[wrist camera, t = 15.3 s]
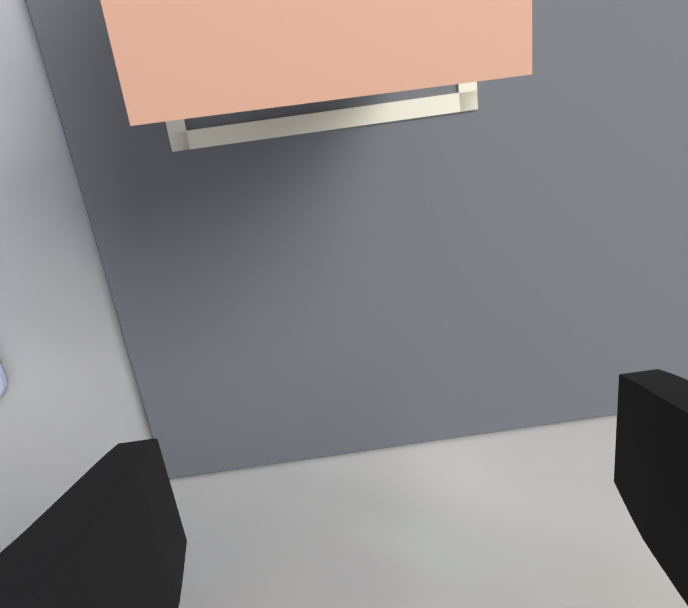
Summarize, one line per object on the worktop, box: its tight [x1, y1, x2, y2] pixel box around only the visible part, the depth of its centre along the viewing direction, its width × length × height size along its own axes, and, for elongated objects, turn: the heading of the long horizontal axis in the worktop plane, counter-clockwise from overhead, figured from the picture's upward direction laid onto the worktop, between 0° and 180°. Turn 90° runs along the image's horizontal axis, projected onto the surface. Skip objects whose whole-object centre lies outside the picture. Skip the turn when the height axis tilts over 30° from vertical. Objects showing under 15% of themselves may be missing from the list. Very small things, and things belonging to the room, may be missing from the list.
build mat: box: [26, 0, 688, 479], centre depth 18 cm, size 19×20×1 cm
